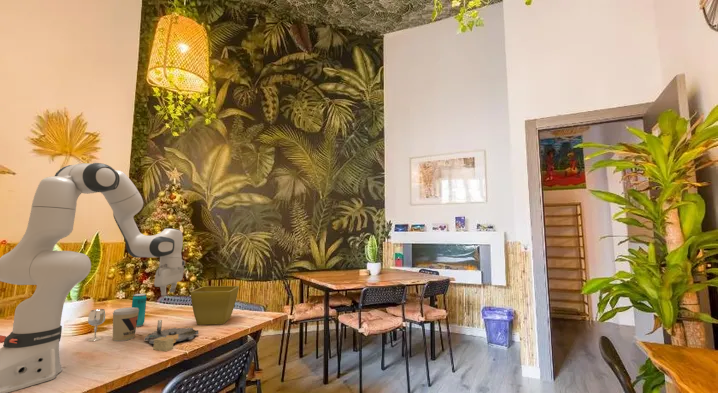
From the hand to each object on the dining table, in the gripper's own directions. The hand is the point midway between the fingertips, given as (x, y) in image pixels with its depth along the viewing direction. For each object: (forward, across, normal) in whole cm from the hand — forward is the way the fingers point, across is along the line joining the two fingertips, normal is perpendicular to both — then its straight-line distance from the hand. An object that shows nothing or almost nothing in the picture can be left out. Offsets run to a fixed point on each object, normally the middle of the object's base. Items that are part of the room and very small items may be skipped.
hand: (168, 293), depth 151 cm
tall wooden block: (+17, -22, -9) cm, 29 cm away
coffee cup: (+18, -7, +14) cm, 23 cm away
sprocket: (+17, -9, -7) cm, 21 cm away
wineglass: (+18, -8, +25) cm, 31 cm away
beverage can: (+18, +12, +19) cm, 29 cm away
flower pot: (+18, +19, -15) cm, 30 cm away
